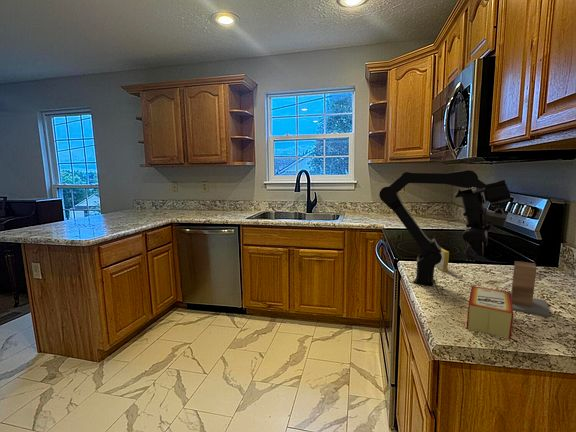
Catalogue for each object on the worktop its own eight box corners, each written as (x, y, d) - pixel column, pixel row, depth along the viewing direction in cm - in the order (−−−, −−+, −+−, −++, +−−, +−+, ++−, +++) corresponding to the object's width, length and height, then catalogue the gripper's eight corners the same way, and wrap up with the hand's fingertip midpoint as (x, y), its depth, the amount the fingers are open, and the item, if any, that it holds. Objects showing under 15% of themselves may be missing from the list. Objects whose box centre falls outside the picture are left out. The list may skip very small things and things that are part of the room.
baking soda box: (469, 306, 95) (466, 329, 82) (471, 285, 94) (468, 305, 81) (508, 314, 90) (510, 339, 77) (510, 292, 89) (513, 314, 76)
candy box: (448, 272, 126) (449, 252, 125) (442, 272, 126) (444, 252, 125) (430, 260, 142) (432, 242, 141) (426, 260, 142) (427, 242, 141)
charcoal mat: (550, 317, 88) (550, 315, 88) (490, 305, 96) (490, 303, 96) (545, 302, 98) (545, 300, 98) (492, 292, 106) (492, 290, 106)
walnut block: (531, 307, 93) (536, 267, 91) (510, 303, 96) (515, 264, 94) (530, 301, 97) (535, 263, 95) (510, 297, 100) (514, 260, 98)
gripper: (499, 210, 93) (509, 260, 95) (504, 196, 107) (513, 240, 109) (457, 216, 100) (468, 262, 102) (467, 202, 114) (477, 242, 116)
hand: (483, 251), depth 107 cm, fingers open, 9 cm apart
